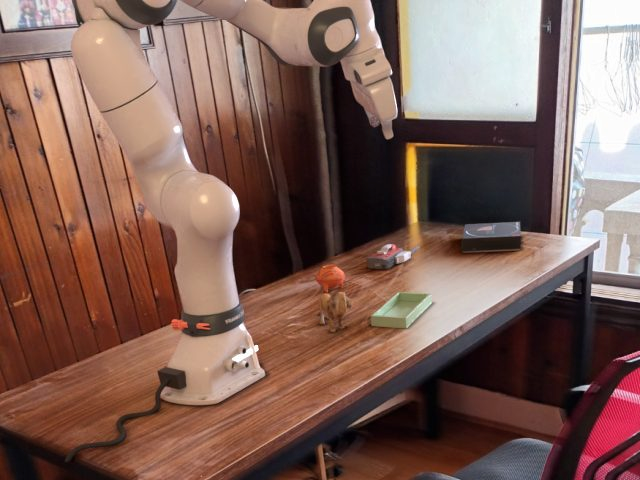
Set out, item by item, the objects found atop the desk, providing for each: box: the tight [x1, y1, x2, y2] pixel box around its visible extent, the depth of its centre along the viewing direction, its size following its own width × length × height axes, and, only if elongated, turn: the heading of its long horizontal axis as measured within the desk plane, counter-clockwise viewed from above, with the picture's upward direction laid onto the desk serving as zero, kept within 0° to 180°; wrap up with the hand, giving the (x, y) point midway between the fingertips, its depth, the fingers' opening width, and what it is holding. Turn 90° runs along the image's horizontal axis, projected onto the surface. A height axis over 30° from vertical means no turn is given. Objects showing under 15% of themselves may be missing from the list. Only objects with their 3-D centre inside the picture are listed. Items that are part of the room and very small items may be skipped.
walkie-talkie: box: [366, 243, 421, 271], centre depth 215 cm, size 9×4×20 cm
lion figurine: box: [316, 291, 354, 333], centre depth 172 cm, size 15×5×9 cm, turn 33°
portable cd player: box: [460, 221, 522, 254], centre depth 222 cm, size 16×17×4 cm
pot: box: [314, 264, 346, 294], centre depth 197 cm, size 8×8×7 cm
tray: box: [370, 291, 433, 329], centre depth 177 cm, size 17×9×2 cm, turn 157°
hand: (382, 131), depth 162 cm, fingers open, 8 cm apart
